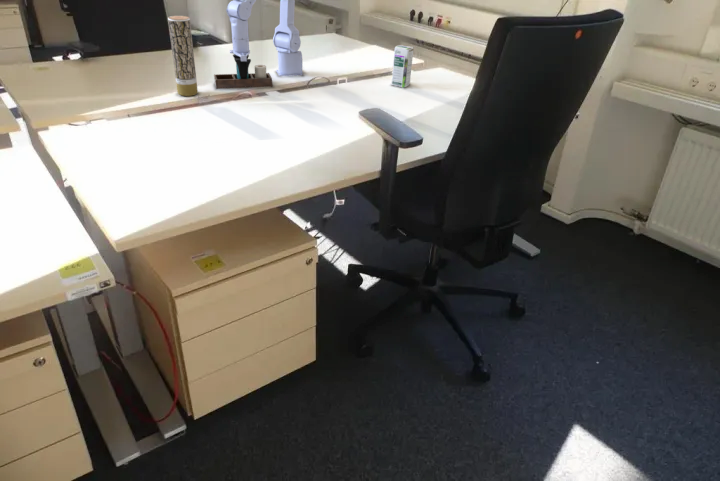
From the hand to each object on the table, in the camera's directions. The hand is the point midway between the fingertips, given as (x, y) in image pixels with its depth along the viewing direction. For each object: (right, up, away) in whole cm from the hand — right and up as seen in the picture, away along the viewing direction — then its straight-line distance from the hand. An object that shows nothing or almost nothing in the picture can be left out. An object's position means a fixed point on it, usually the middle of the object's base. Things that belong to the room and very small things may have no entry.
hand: (242, 76), depth 197 cm
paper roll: (0, -1, +1) cm, 2 cm away
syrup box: (+59, +1, +14) cm, 60 cm away
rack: (0, -3, +2) cm, 3 cm away
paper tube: (-17, -9, -9) cm, 22 cm away
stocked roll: (+6, -2, +3) cm, 7 cm away
